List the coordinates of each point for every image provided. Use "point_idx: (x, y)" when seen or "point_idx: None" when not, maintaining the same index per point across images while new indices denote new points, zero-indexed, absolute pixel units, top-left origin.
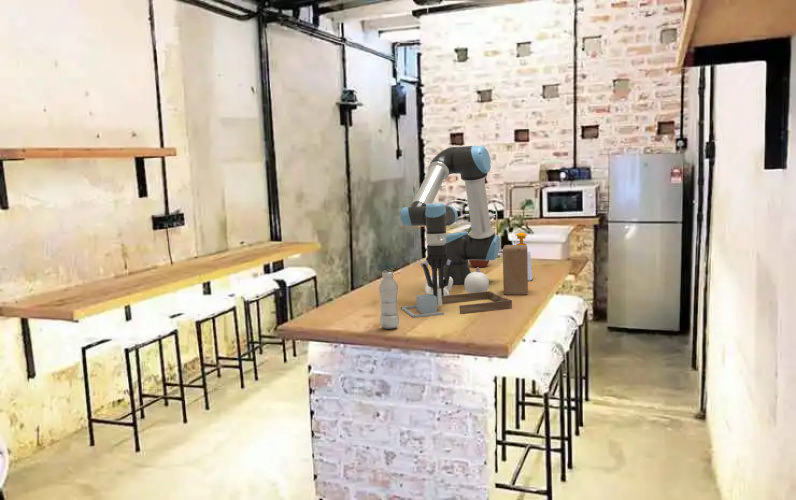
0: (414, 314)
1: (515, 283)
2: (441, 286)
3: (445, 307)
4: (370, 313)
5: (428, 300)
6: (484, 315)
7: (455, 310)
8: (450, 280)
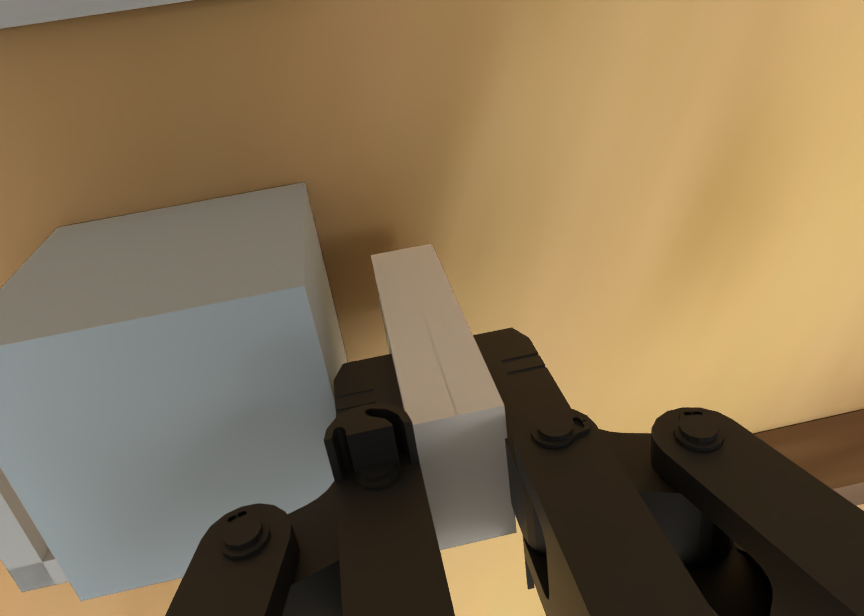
0: (34, 549)
1: None
2: (542, 562)
3: (524, 143)
4: None
5: None
6: None
7: (589, 342)
8: None
